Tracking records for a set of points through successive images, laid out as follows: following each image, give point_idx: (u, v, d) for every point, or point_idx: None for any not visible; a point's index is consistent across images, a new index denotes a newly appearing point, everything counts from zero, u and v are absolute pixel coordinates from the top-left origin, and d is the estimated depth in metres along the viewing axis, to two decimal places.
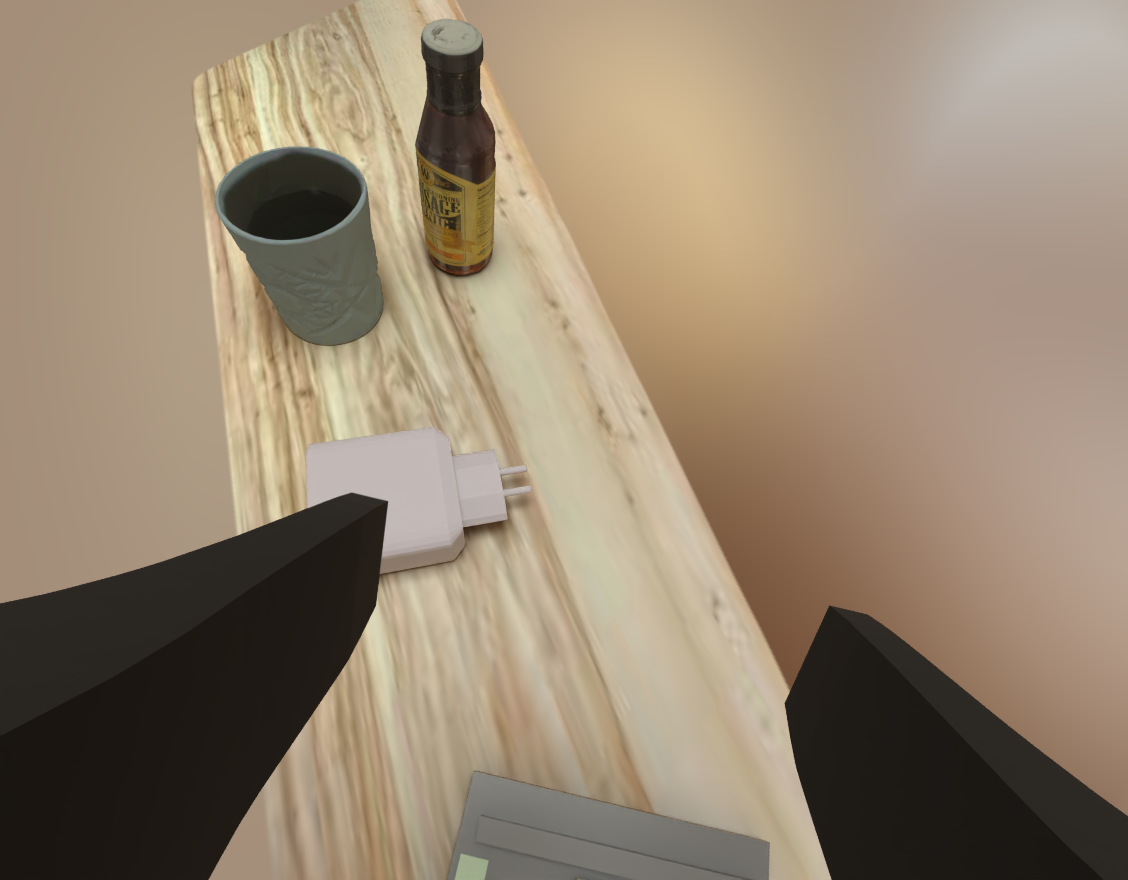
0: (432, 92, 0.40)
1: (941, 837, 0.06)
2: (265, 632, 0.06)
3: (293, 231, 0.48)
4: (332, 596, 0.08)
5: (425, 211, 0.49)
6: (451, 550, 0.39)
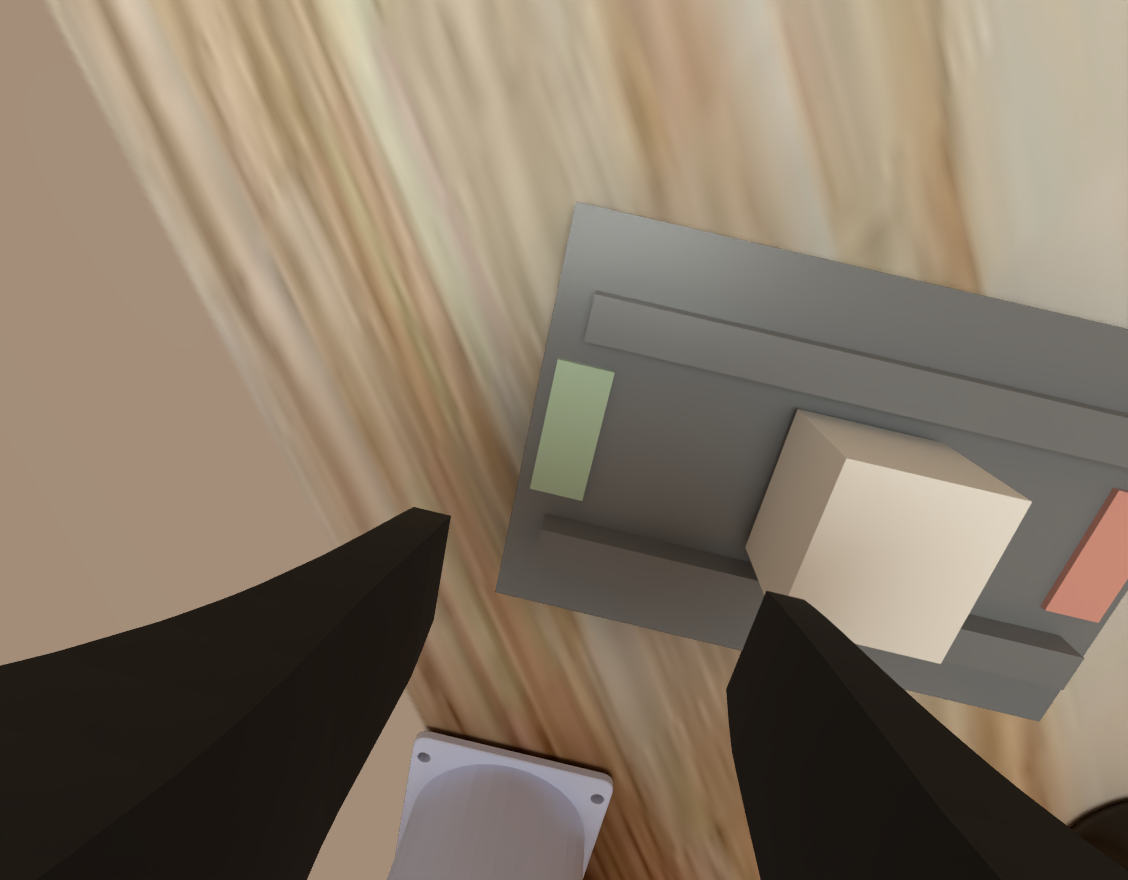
0: None
1: (847, 814, 0.06)
2: (355, 654, 0.06)
3: None
4: (405, 614, 0.08)
5: None
6: None
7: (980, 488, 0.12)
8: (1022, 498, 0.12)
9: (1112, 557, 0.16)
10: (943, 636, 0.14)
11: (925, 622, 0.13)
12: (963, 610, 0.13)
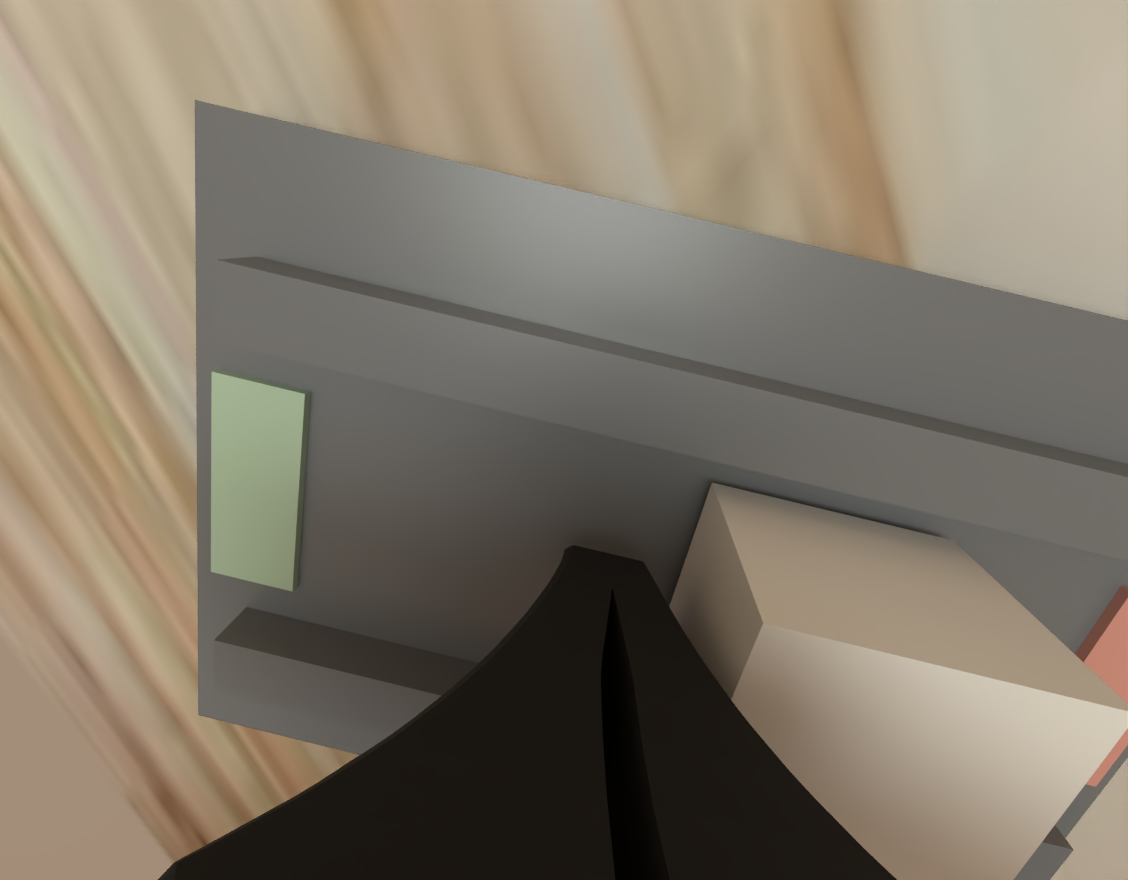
0: None
1: (608, 757, 0.06)
2: None
3: None
4: None
5: None
6: None
7: (1033, 683, 0.06)
8: (1117, 704, 0.06)
9: (1118, 693, 0.10)
10: None
11: None
12: None
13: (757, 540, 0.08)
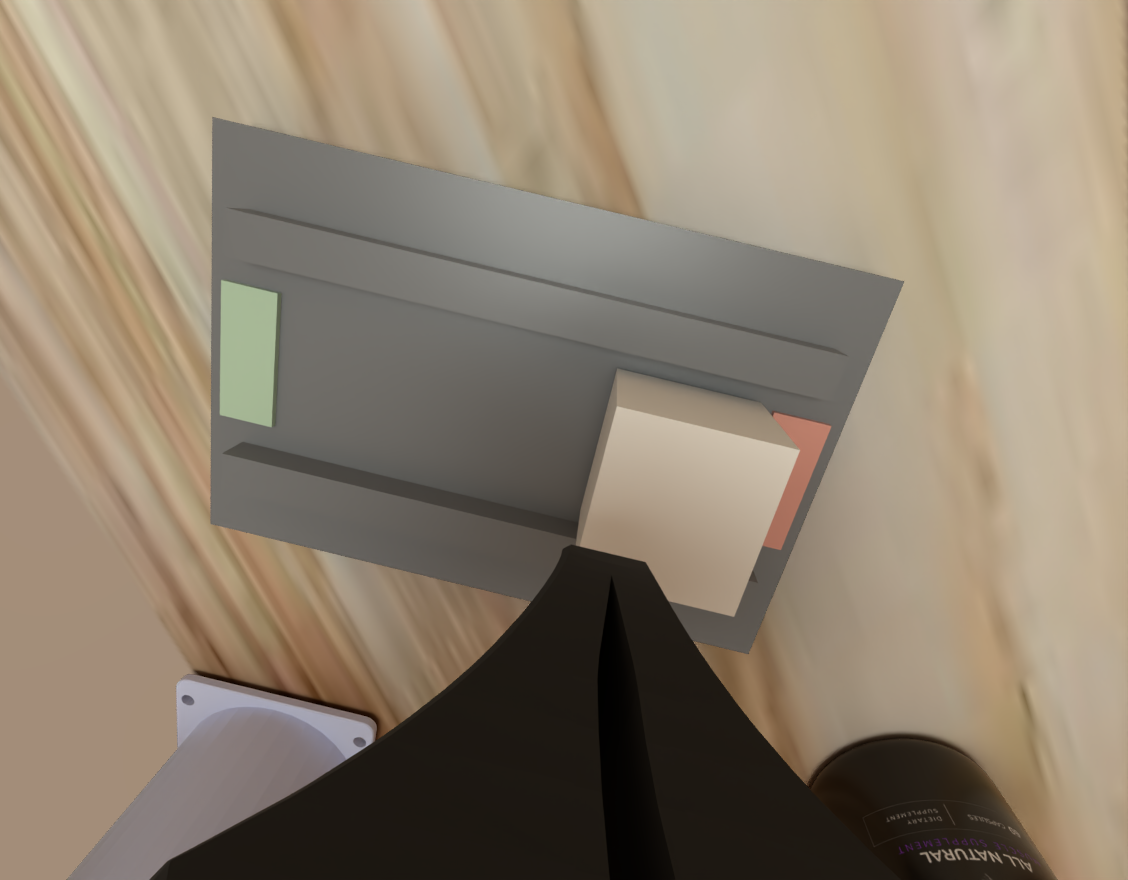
0: None
1: (611, 757, 0.06)
2: None
3: None
4: None
5: None
6: None
7: (750, 437, 0.12)
8: (791, 447, 0.12)
9: None
10: (732, 588, 0.14)
11: (714, 574, 0.14)
12: (748, 562, 0.13)
13: (631, 387, 0.14)
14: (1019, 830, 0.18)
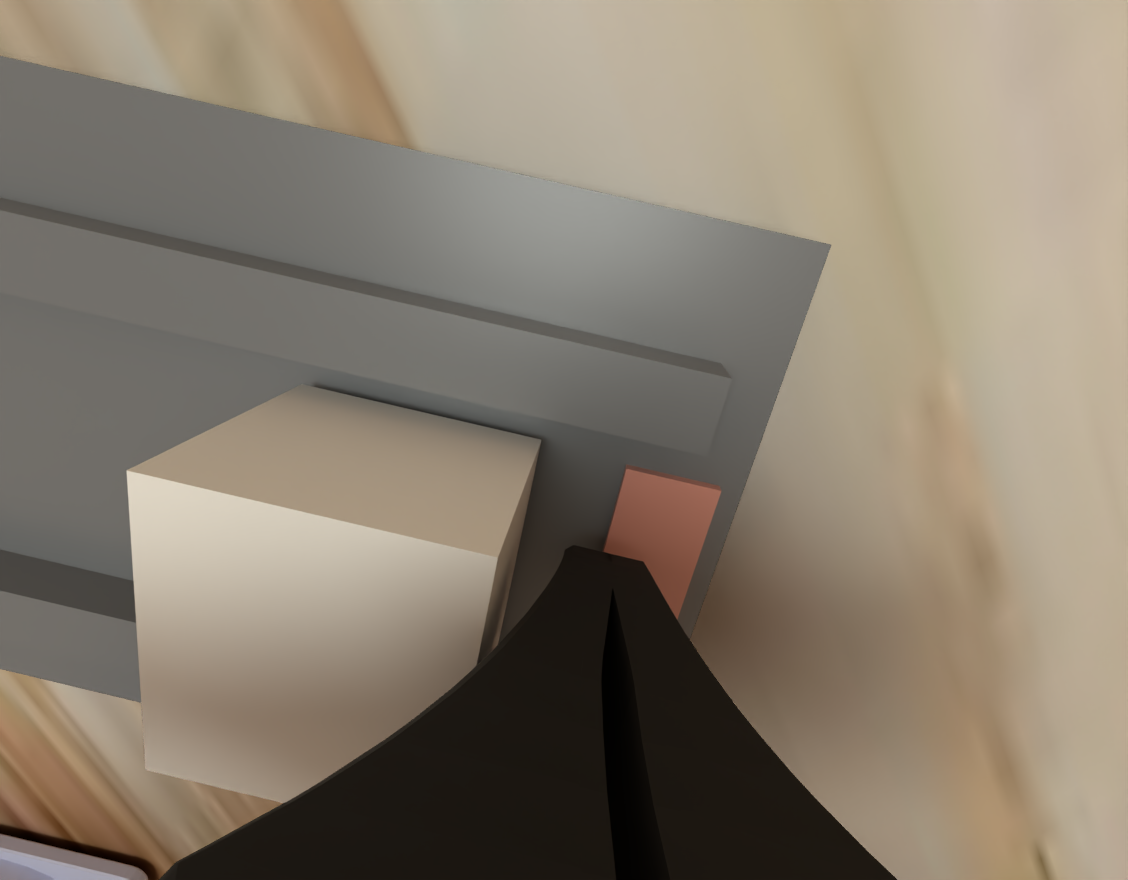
0: None
1: (608, 756, 0.06)
2: None
3: None
4: None
5: None
6: None
7: (401, 530, 0.06)
8: (484, 550, 0.06)
9: None
10: None
11: None
12: None
13: (263, 421, 0.08)
14: None
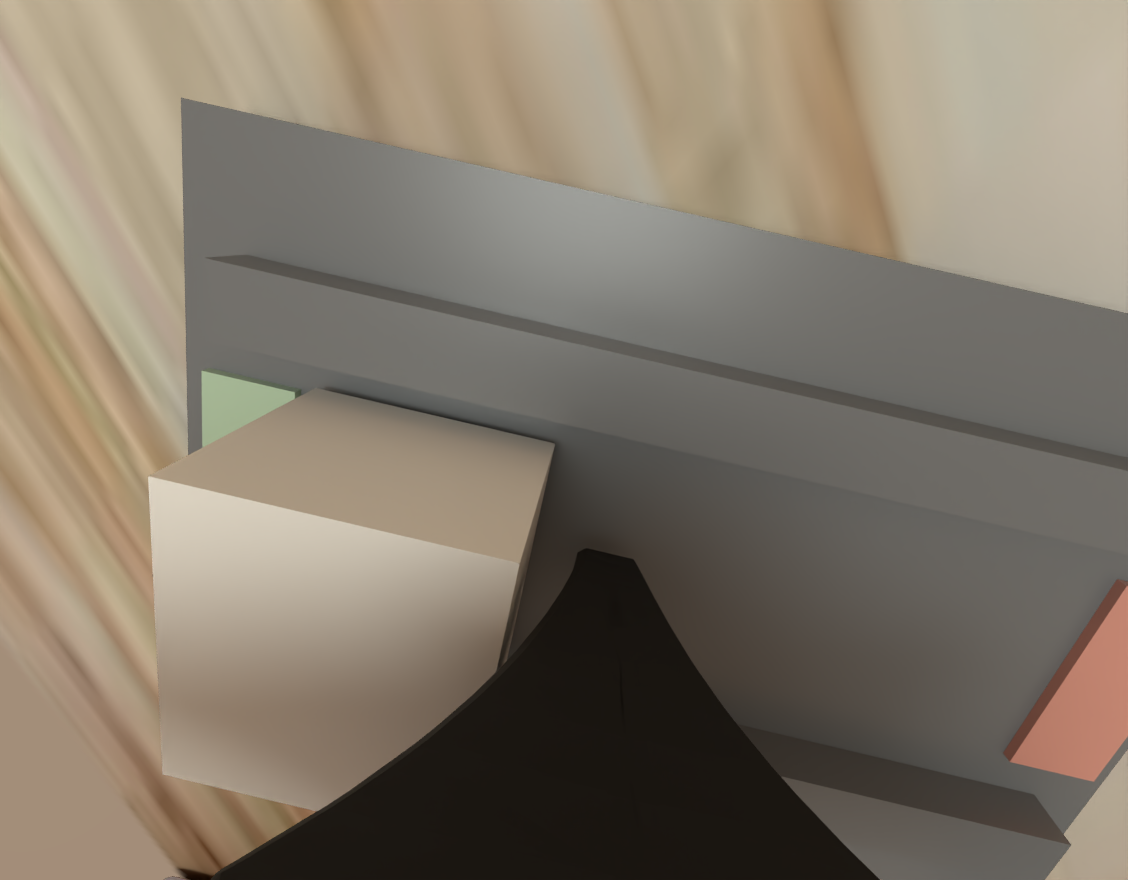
0: None
1: None
2: None
3: None
4: None
5: None
6: None
7: (423, 536, 0.06)
8: (506, 556, 0.06)
9: (1115, 687, 0.10)
10: None
11: None
12: None
13: (280, 426, 0.08)
14: None
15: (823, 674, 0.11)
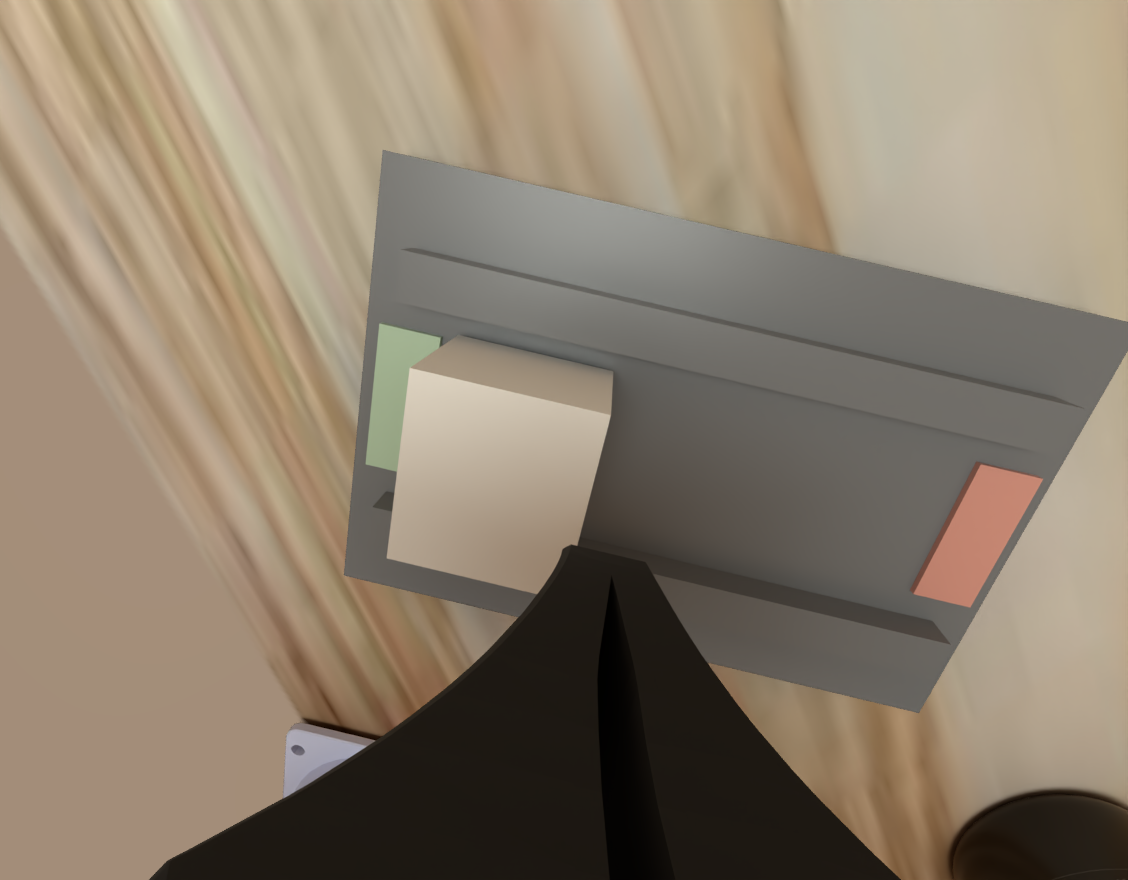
0: None
1: (611, 757, 0.06)
2: None
3: None
4: None
5: None
6: None
7: (557, 401, 0.11)
8: (603, 412, 0.11)
9: (979, 537, 0.15)
10: None
11: (536, 553, 0.12)
12: (571, 540, 0.12)
13: (454, 352, 0.13)
14: None
15: (786, 533, 0.16)
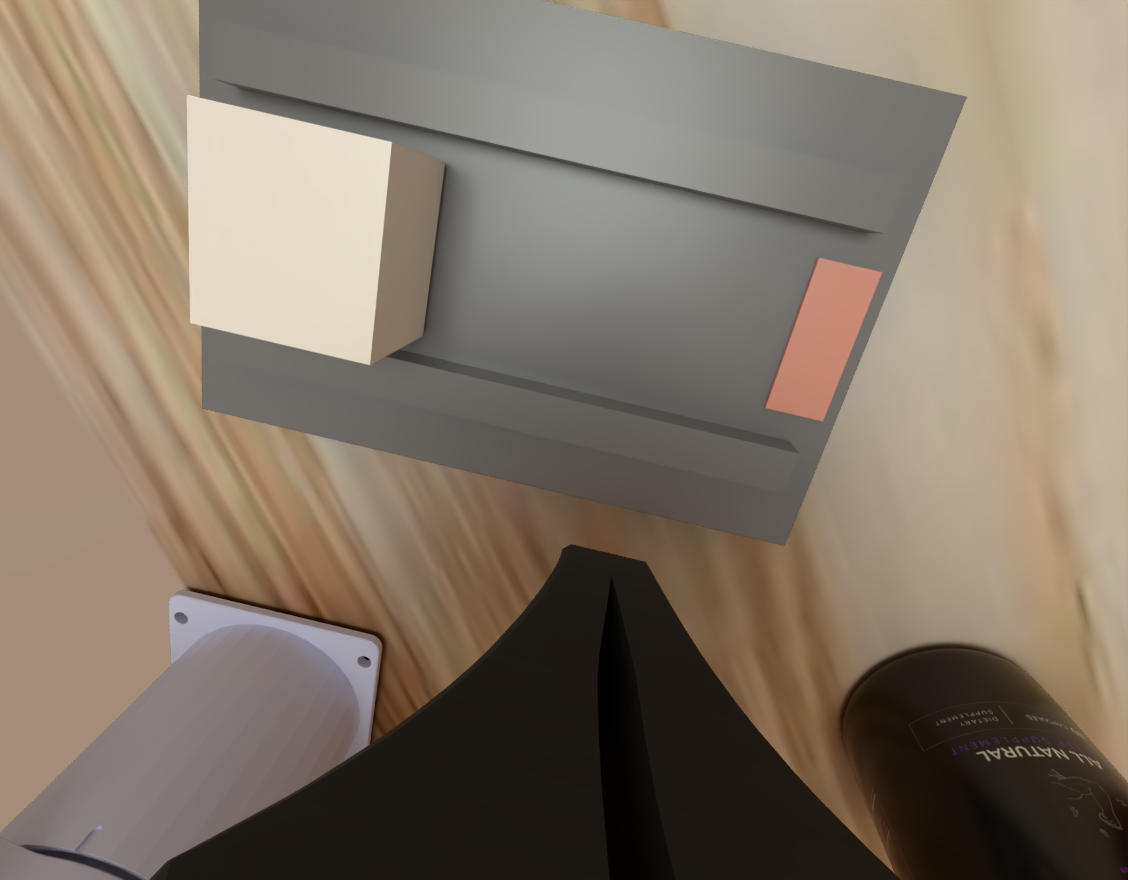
0: None
1: (611, 757, 0.06)
2: None
3: None
4: None
5: None
6: None
7: (339, 130, 0.11)
8: None
9: (825, 340, 0.15)
10: (361, 329, 0.12)
11: (337, 310, 0.12)
12: (370, 293, 0.12)
13: None
14: (1081, 733, 0.17)
15: (636, 346, 0.16)
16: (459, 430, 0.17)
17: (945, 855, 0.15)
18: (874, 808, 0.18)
